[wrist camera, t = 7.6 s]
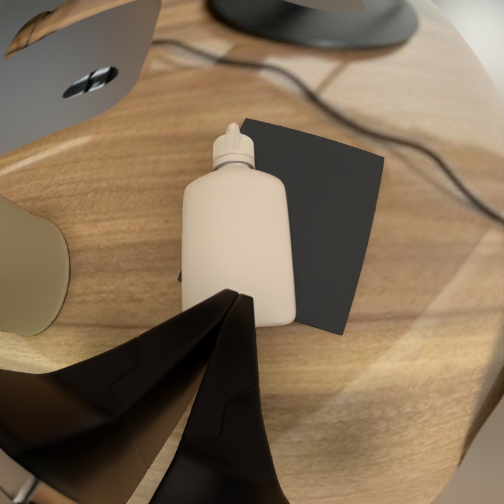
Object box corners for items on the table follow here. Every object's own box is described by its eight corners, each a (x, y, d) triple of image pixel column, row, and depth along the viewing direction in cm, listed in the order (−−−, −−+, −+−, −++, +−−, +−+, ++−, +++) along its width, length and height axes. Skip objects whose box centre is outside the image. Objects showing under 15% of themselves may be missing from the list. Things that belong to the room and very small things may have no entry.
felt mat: (341, 335, 17) (342, 335, 17) (178, 280, 18) (177, 280, 18) (383, 159, 19) (384, 157, 19) (245, 120, 21) (245, 117, 21)
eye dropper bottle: (220, 329, 19) (216, 154, 22) (307, 323, 16) (288, 129, 19) (169, 329, 15) (175, 126, 18) (270, 325, 12) (254, 90, 15)
